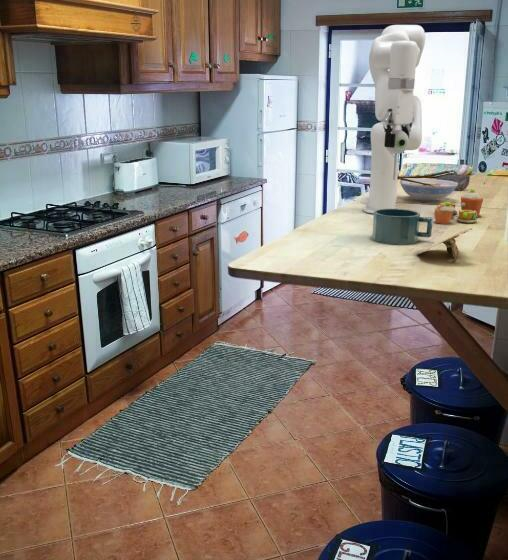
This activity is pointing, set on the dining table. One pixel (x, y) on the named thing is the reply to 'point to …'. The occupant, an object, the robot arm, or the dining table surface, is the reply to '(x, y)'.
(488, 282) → the dining table surface
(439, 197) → the ramen bowl
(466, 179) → the perforated stone tool
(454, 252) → the tan irregular piece
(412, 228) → the mug
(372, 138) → the robot arm
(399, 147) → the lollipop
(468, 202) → the toy tea set
